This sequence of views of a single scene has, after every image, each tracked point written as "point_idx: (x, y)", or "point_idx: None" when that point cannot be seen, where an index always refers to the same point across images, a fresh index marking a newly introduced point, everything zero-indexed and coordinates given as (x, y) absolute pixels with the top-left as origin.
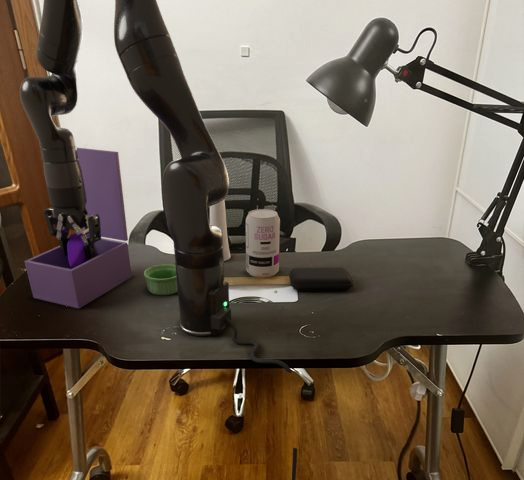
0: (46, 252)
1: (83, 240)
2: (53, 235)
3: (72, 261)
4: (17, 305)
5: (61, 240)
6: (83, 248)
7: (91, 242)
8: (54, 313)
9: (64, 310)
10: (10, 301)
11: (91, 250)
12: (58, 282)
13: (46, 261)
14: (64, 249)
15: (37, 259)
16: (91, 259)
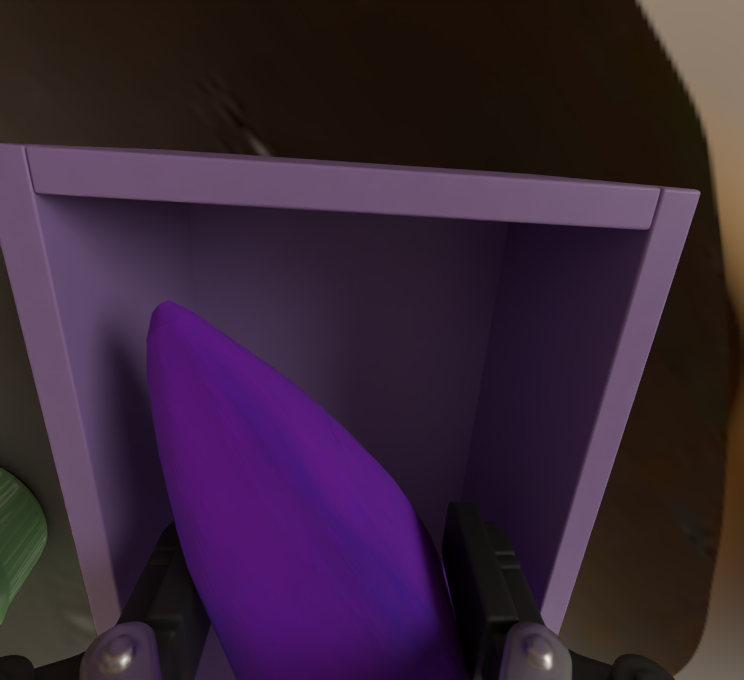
0: (596, 455)
1: (142, 675)
2: (615, 665)
3: (164, 352)
4: (564, 38)
5: (499, 623)
6: (195, 577)
7: (13, 668)
8: (260, 28)
9: (234, 94)
10: (641, 74)
11: (140, 583)
12: (267, 158)
13: (559, 387)
14: (462, 544)
15: (608, 323)
16: (80, 473)
